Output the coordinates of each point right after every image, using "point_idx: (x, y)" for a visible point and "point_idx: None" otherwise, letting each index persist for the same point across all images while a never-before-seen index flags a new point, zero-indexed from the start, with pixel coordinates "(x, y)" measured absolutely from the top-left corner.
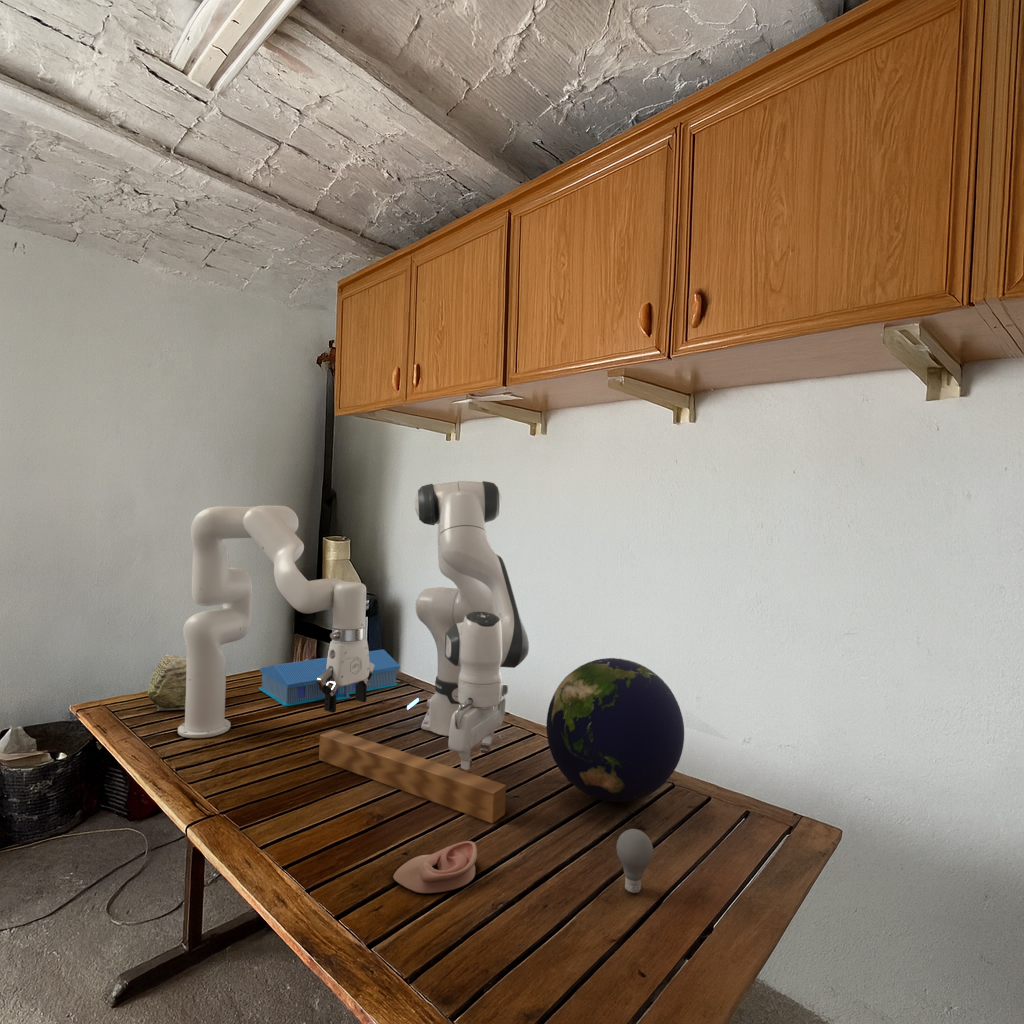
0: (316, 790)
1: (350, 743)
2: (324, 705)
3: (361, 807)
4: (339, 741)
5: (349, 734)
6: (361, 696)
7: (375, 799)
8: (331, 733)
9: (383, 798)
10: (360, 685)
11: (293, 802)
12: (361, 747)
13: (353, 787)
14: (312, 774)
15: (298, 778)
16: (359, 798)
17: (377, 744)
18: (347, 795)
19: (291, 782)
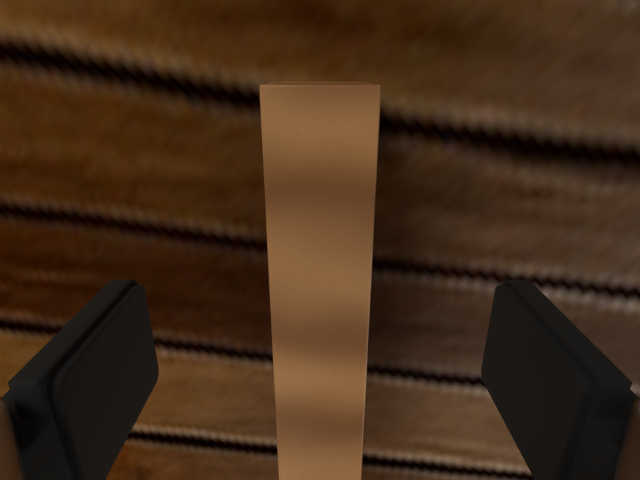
0: (106, 284)
1: (285, 303)
2: (94, 297)
3: (144, 441)
4: (268, 245)
5: (370, 216)
6: (502, 381)
7: (201, 440)
8: (318, 125)
9: (220, 450)
10: (571, 450)
11: (5, 290)
12: (283, 368)
13: (206, 353)
14: (168, 176)
15: (108, 161)
16: (173, 408)
17: (354, 393)
18: (159, 374)
19: (69, 168)
